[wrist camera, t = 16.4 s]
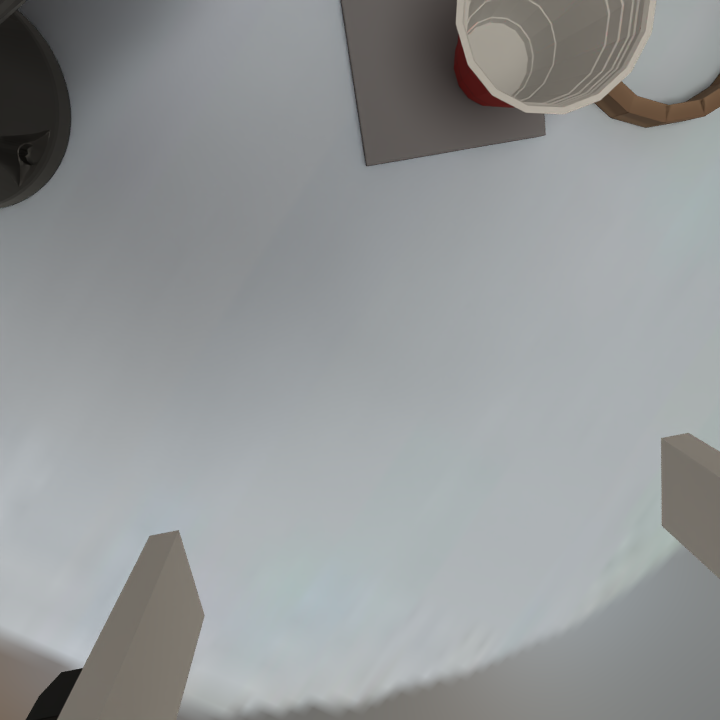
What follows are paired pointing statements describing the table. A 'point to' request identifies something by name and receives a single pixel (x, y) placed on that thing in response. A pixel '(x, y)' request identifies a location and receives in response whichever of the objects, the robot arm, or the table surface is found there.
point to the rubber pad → (418, 84)
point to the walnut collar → (657, 106)
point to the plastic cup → (548, 50)
